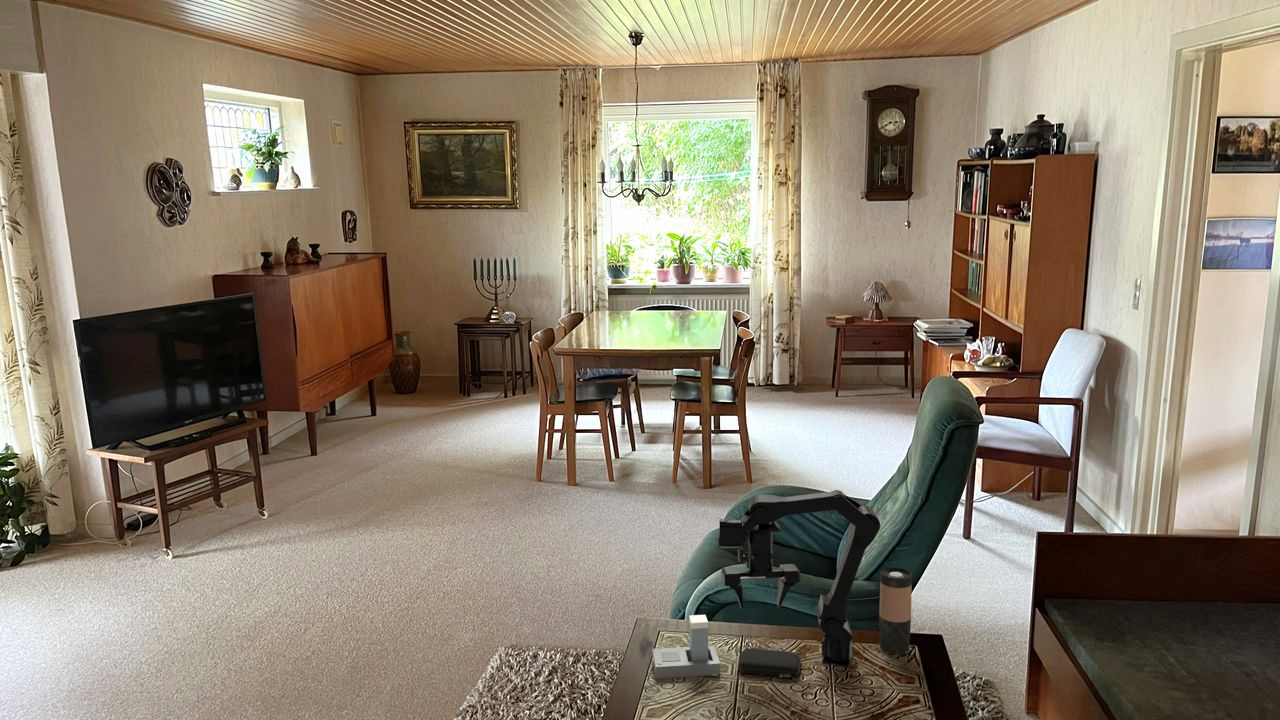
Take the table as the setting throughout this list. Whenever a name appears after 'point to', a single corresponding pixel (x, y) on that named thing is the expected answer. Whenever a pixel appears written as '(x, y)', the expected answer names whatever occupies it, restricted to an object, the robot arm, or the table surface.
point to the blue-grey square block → (698, 638)
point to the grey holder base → (683, 663)
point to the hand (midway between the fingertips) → (760, 607)
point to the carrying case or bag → (769, 662)
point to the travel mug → (895, 610)
